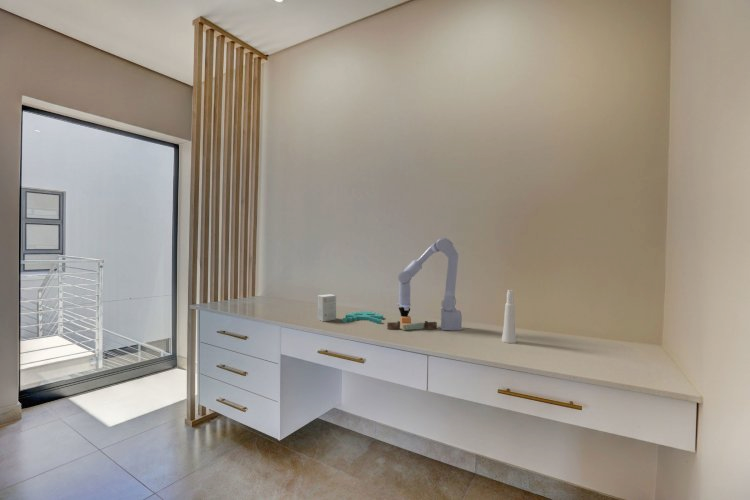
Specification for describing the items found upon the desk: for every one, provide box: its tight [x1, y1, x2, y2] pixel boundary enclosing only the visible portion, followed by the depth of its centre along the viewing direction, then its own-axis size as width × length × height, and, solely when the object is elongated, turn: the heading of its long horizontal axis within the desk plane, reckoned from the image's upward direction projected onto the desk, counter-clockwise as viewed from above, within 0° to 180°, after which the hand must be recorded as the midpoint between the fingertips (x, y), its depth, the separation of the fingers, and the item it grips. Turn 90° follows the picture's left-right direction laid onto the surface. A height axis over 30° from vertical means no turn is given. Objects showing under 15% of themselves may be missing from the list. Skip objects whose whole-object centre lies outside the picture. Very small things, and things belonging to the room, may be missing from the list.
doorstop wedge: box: [400, 315, 412, 327], centre depth 172 cm, size 4×8×4 cm, turn 4°
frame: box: [386, 320, 438, 330], centre depth 169 cm, size 24×2×4 cm, turn 95°
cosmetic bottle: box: [501, 289, 518, 344], centre depth 150 cm, size 6×6×22 cm
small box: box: [316, 293, 337, 322], centre depth 186 cm, size 8×6×13 cm
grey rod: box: [401, 322, 425, 331], centre depth 167 cm, size 12×2×2 cm, turn 112°
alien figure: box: [341, 310, 384, 325], centre depth 189 cm, size 20×2×20 cm
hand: (404, 321), depth 177 cm, fingers closed
